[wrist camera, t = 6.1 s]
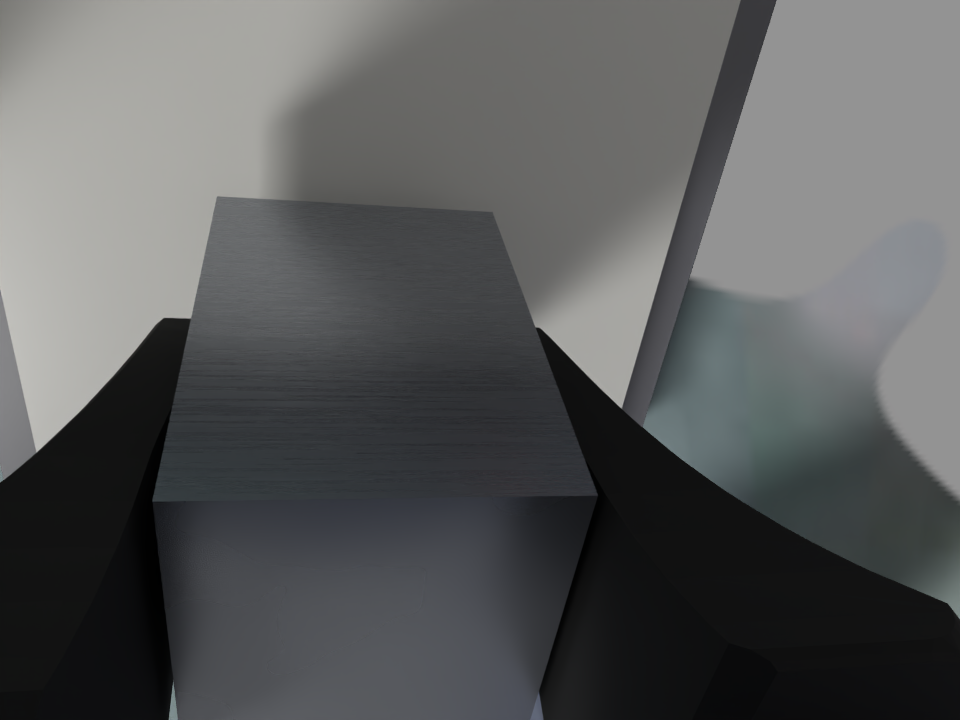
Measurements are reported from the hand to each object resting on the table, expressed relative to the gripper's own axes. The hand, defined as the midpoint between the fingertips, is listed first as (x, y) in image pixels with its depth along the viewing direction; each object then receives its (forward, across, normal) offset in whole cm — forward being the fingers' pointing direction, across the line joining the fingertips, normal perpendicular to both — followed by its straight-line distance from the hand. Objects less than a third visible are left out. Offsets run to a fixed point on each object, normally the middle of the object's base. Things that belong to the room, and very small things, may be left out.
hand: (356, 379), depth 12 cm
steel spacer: (+2, 0, 0) cm, 2 cm away
